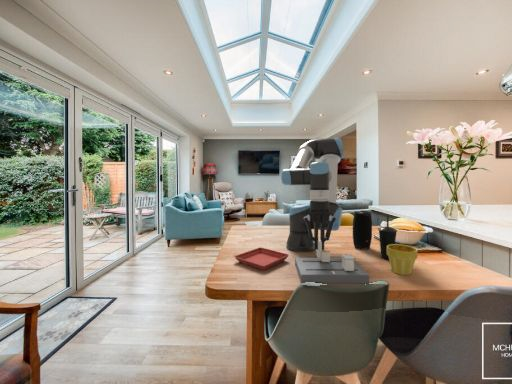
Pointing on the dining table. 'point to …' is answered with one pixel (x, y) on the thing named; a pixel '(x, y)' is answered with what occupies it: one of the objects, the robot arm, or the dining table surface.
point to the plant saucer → (261, 258)
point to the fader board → (328, 271)
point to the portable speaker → (362, 229)
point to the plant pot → (402, 258)
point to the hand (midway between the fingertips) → (319, 256)
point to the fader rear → (325, 255)
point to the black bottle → (386, 239)
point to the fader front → (348, 262)
